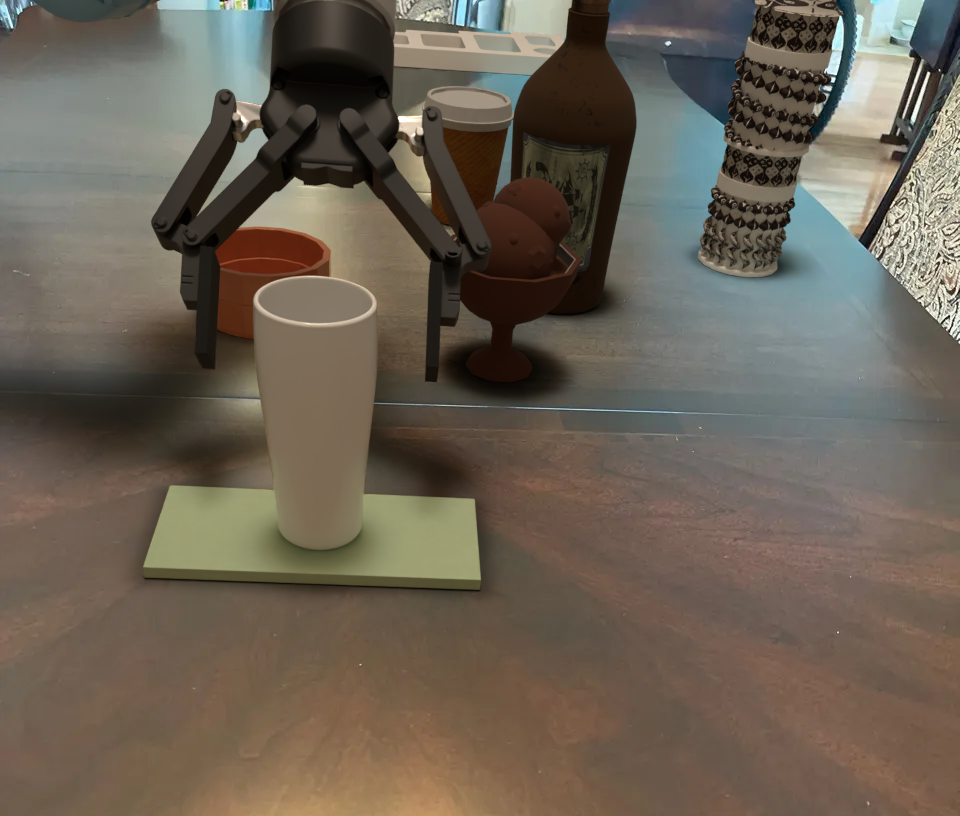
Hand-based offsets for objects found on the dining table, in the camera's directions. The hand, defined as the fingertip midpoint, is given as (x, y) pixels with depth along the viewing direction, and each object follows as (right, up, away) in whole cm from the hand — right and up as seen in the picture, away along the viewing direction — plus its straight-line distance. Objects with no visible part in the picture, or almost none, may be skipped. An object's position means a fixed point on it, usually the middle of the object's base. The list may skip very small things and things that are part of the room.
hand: (319, 369), depth 63 cm
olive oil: (+17, +16, +37) cm, 43 cm away
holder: (+2, +80, +110) cm, 135 cm away
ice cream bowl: (+11, +6, +24) cm, 27 cm away
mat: (0, -10, +3) cm, 11 cm away
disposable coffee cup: (+8, +30, +51) cm, 60 cm away
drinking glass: (0, -10, +3) cm, 10 cm away
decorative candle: (+37, +23, +48) cm, 65 cm away
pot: (-9, +12, +28) cm, 32 cm away
